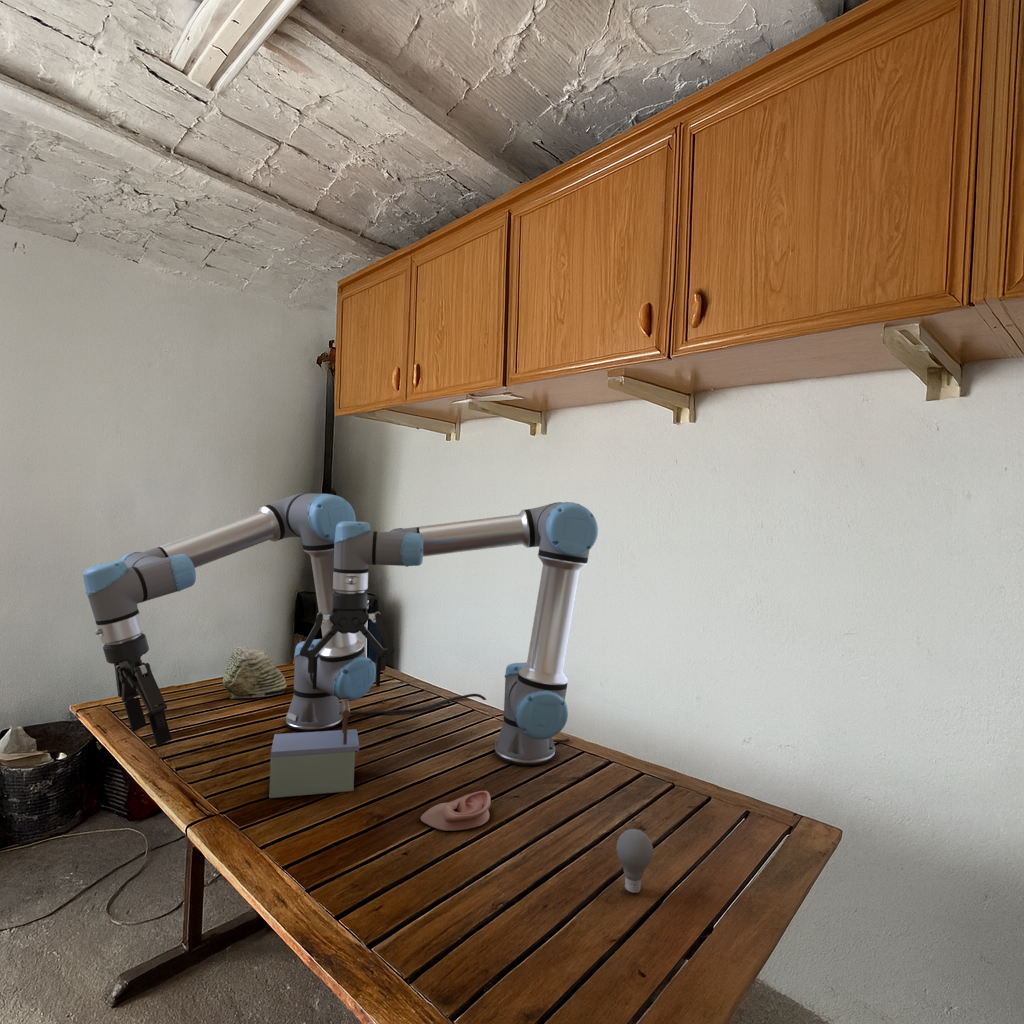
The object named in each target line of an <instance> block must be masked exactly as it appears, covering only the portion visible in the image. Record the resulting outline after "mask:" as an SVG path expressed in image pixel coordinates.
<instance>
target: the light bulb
mask: <svg viewBox="0 0 1024 1024" xmlns="http://www.w3.org/2000/svg"><path fill="white" fill-rule="evenodd" d="M615 849H616V854H617V857H618V859H619V861H620V863H621V865H622V867H623V873H624V874H623V875H624V876H625V878H624V888H625V890H627V891H628V892H630V893H634V894H635V893H639V892H640V891H641V889H642V887H641V886H642V879H643V877H644V875H645V871H646V868H647V867H648V866H649V864H650V863H651V861H652V859H653V855H654V847H653V843H652V841H651V838H649V836H648V835H647V834H646V833H645V832H643V831H642V830H641V829H636V828H629V829H627V830H625V831H623V832H622V833H621V834H620V835H619V837H618V839H617V841H616V847H615Z"/></svg>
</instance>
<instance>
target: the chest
mask: <svg viewBox="0 0 1024 1024" xmlns="http://www.w3.org/2000/svg"><path fill="white" fill-rule="evenodd" d="M355 762H356V751H352V752H337V753H323V754H309V755H294V756H280V757H271V756H270V765H269V766H270V767H269V768H270V769H269V770H270V771H269V792H268V793H269V795H268V798H269V799H277V798H286V797H288V798H289V797H296V796H297V797H298V796H299V797H300V796H310V795H320V794H321V795H322V794H335V793H346V792H353V791H354V787H355V767H356V766H355V765H356V763H355Z"/></svg>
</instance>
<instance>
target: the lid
mask: <svg viewBox="0 0 1024 1024" xmlns="http://www.w3.org/2000/svg"><path fill="white" fill-rule="evenodd" d="M340 706H341V710H342V716H343V722H342V729H339V730H325V731H318V732H288V733H274V735H273V740H272V745H271V750H270V758H271V757H280V756H294V755H309V754H323V753H337V752H352V751H355V752H359V751H360V742H359V735H358V729H357V728H356V729H354V728H353V729H348V722H349V721H348V719H349V718H350V717H351V715H350V712H351V706H350V701H348V700H347V699H341V701H340Z"/></svg>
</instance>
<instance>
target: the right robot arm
mask: <svg viewBox="0 0 1024 1024" xmlns="http://www.w3.org/2000/svg"><path fill="white" fill-rule="evenodd" d="M598 535H599V526H598V522H597V520H596V517H595V516H594V514H593V512H592V511H590V509H588V508H587V507H585V506H583V505H581V504H580V503H577V502H574V501H573V502H571V501H570V502H569V501H565V502H562V501H558V502H553V503H548V504H545V505H541V506H537V507H534V508H528V509H527V508H526V509H521V510H520V512H519V513H518V514H510V515H503V516H502V515H501V516H495V517H487V518H478V519H469V520H462V521H454V522H445V523H437V524H429V525H428V524H427V525H422V526H421V525H420V526H414V527H406V528H403V527H398V528H393V529H392V530H389V531H376V530H375V531H374V530H372V528H371V524H370V523H369V522H367V521H356V522H355V521H342V522H339V523H338V524H337V525H336V532H335V541H334V571H333V589H334V590H336V591H335V592H334V593H333V597H332V612H331V614H324V613H322V612H319V611H318V612H317V614H316V619H315V623H314V625H313V626H312V627H311V630H310V632H309V634H308V636H307V638H306V639H305V640H304V641H305V643H304V644H303V646H302V648H301V650H300V656H304V657H307V658H308V673H313V689H316V684H317V657H318V656H316V655H317V654H318V652H319V651H320V650H321V649H322V648H323V647H324V646H325V645H326V644H327V643H328V641H329V640H330V639H331V638H332V637H333V636H334V635H335V634H336V633H337V632H340V633H342V634H346V633H352V634H353V633H359V632H360V633H361V634H362V635H363V636H364V638H366V640H367V641H368V642H369V643H370V645H371V646H372V647H373V648H374V649H375V650H376V651H377V653H378V654H376V657H375V659H376V660H375V662H376V663H375V668H376V677H375V686H376V687H378V688H379V687H381V671H386V667H387V657H388V656H389V655H392V654H394V653H395V648H394V646H393V644H392V642H391V640H390V637H389V636H388V633H387V631H386V629H385V627H384V625H383V623H382V614H381V612H380V611H378V610H377V611H375V612H371V613H368V593H367V590H368V589H369V566H372V565H373V566H398V567H406V568H408V567H419V566H421V565H422V564H423V561H424V559H423V558H424V557H433V556H441V555H447V554H457V553H463V552H464V553H465V552H472V551H480V550H488V549H495V548H496V549H497V548H505V547H512V546H521V545H522V546H524V547H525V548H527V549H528V548H537V547H538V553H537V557H538V559H539V560H540V561H541V563H542V568H541V574H540V581H539V588H538V592H537V597H536V598H537V599H536V605H535V611H534V617H533V622H532V624H533V625H532V628H531V629H532V630H531V634H530V635H531V636H530V640H529V641H530V642H529V647H528V654H527V660H526V662H513V663H509V664H507V666H506V668H505V674H504V678H505V679H504V698H503V699H504V701H503V721H502V724H501V728H500V731H499V734H498V736H497V738H496V739H495V743H494V744H495V745H494V754H495V756H496V758H498V759H500V761H502V762H504V763H507V764H511V765H514V766H520V767H521V766H523V767H534V766H541V765H547V764H548V763H551V762H552V761H553V760H554V759H555V757H556V746H555V743H567V742H570V738H569V737H568V738H563V739H557V738H553V737H555V736H556V735H558V734H559V733H560V732H562V730H563V729H564V728H565V726H566V724H567V721H568V717H569V710H568V704H567V702H566V695H567V689H568V682H569V679H568V677H567V676H566V674H565V673H564V667H565V662H566V655H567V649H568V643H569V636H570V632H571V631H570V630H571V625H572V619H573V612H574V606H575V599H576V596H577V595H576V594H577V587H578V582H579V576H580V571H581V570H582V569H583V568H585V567H586V566H587V565H588V562H589V557H590V556H589V555H590V550H591V549H592V548H593V547H594V545H595V544H596V541H597V539H598ZM328 619H330V621H331V622H332V624H333V626H332V627H331V628H330V630H329V631H328V632H327V633H326V634H325V635H324V636H322V637H321V638H320V639H321V640H320V641H319V642H318V643H317V644H316V645H315V646H314V647H313V648H312V650H311V651H309V650H308V649H309V647H310V645H311V644H312V642H313V640H315V638H316V636H317V635H318V633H319V631H320V629H321V625H322V624H324V623H325V622H326V620H328ZM369 620H371V622H372V623H373V624H375V625H376V627H377V629H378V632H379V633H380V636H381V638H382V640H383V642H384V644H385V648H384V647H383V646H382V645H381V644H380V643H379V641H378V640H377V639H376V638H375V637H374V635H373V634H372V633H371V632H370V631H369V629H368V628H367V627H366V626H365V625H366V623H367V622H368V621H369Z"/></svg>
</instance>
